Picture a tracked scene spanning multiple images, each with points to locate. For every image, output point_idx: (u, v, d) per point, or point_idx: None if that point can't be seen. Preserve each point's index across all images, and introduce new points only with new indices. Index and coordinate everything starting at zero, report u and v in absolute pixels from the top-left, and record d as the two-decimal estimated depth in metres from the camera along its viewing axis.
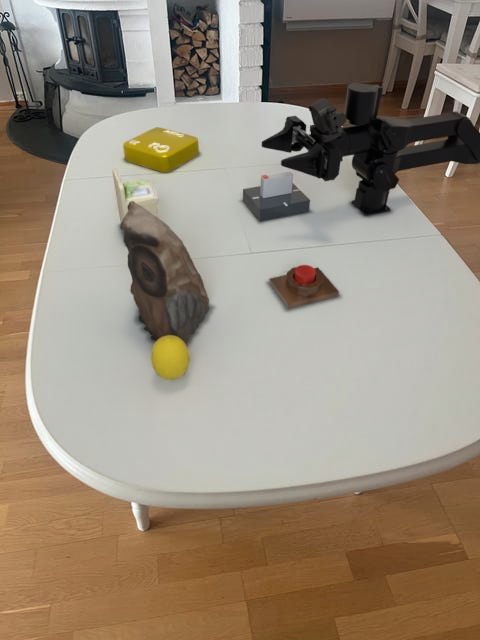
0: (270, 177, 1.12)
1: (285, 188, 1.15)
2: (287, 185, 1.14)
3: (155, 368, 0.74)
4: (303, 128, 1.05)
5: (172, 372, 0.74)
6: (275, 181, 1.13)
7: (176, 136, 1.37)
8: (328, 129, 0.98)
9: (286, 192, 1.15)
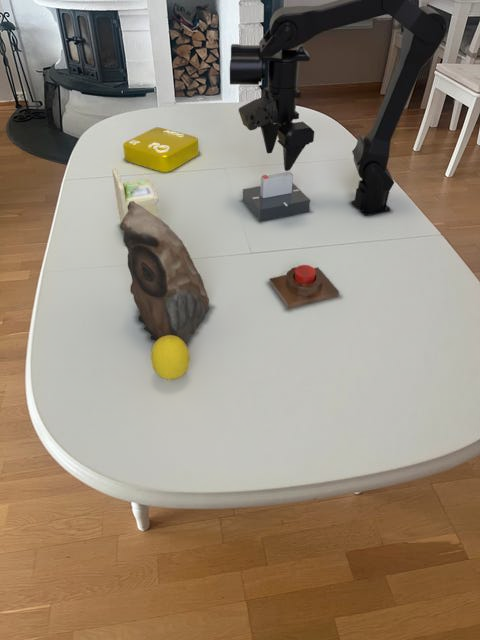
0: (270, 177, 1.12)
1: (285, 188, 1.15)
2: (287, 185, 1.14)
3: (155, 368, 0.74)
4: None
5: (172, 372, 0.74)
6: (275, 181, 1.13)
7: (176, 136, 1.37)
8: None
9: (286, 192, 1.15)
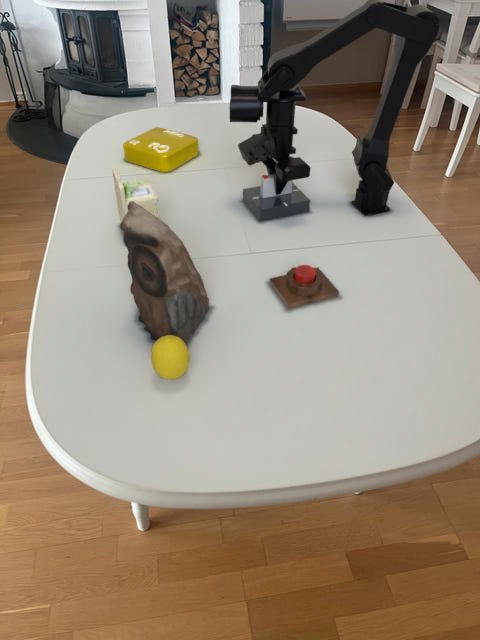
0: (270, 177, 1.12)
1: (285, 188, 1.15)
2: (287, 185, 1.14)
3: (155, 368, 0.74)
4: None
5: (172, 372, 0.74)
6: None
7: (176, 136, 1.37)
8: None
9: (286, 192, 1.15)
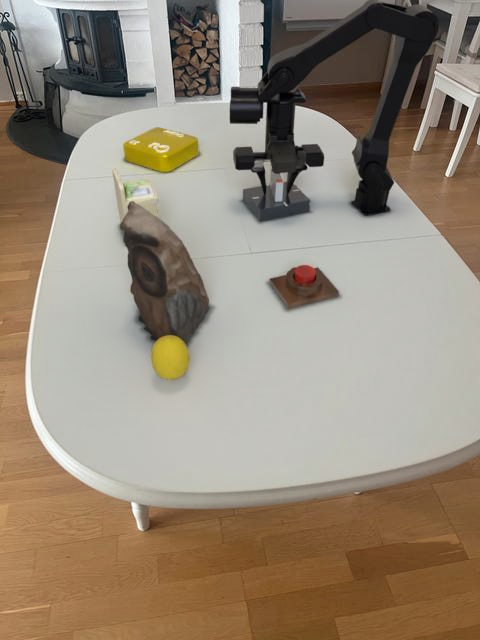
0: (280, 179, 1.11)
1: None
2: None
3: (155, 368, 0.74)
4: None
5: (172, 372, 0.74)
6: None
7: (176, 136, 1.37)
8: None
9: None
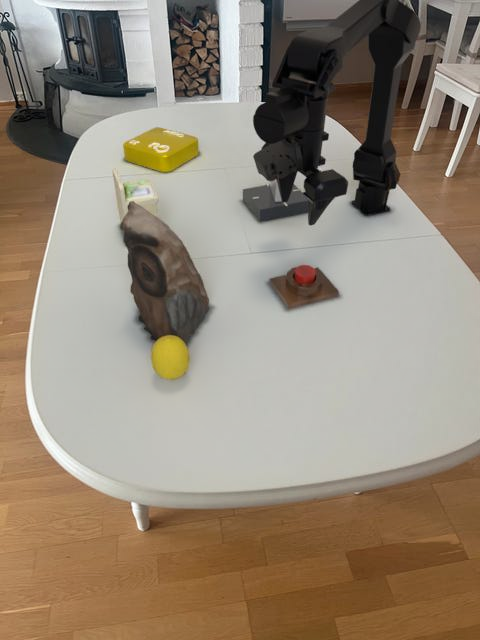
0: None
1: None
2: None
3: (155, 368, 0.74)
4: None
5: (172, 372, 0.74)
6: None
7: (176, 136, 1.37)
8: None
9: None
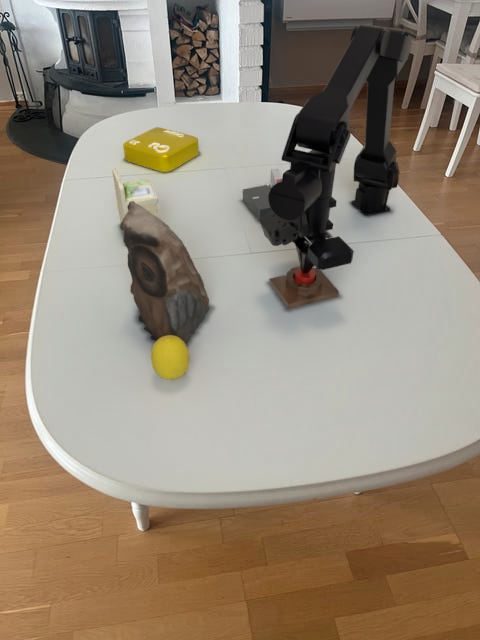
0: (280, 179, 1.11)
1: None
2: None
3: (155, 368, 0.74)
4: None
5: (172, 372, 0.74)
6: None
7: (176, 136, 1.37)
8: None
9: None
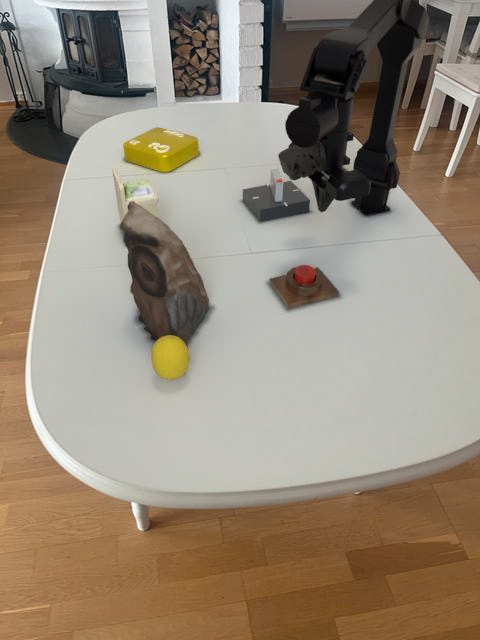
0: (280, 179, 1.11)
1: None
2: None
3: (155, 368, 0.74)
4: None
5: (172, 372, 0.74)
6: None
7: (176, 136, 1.37)
8: None
9: None
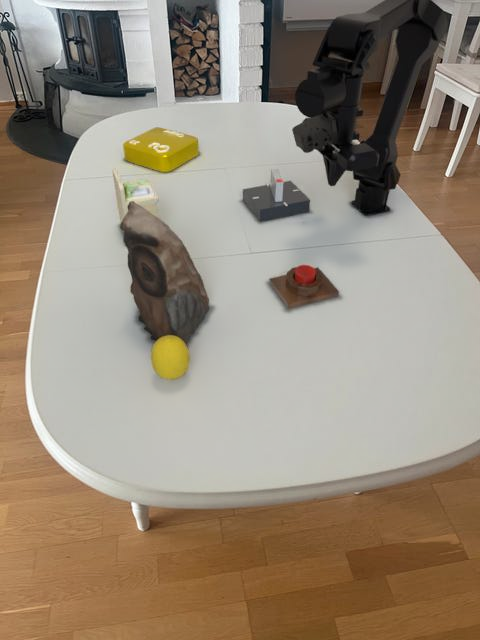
0: (280, 179, 1.11)
1: None
2: None
3: (155, 368, 0.74)
4: None
5: (172, 372, 0.74)
6: None
7: (176, 136, 1.37)
8: None
9: None
